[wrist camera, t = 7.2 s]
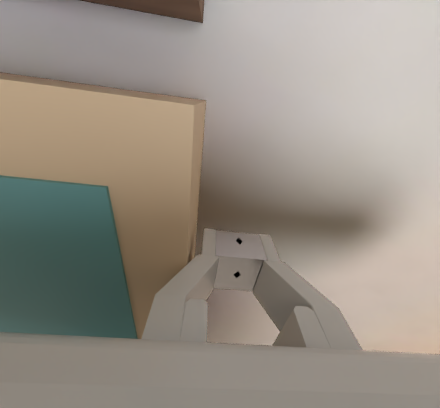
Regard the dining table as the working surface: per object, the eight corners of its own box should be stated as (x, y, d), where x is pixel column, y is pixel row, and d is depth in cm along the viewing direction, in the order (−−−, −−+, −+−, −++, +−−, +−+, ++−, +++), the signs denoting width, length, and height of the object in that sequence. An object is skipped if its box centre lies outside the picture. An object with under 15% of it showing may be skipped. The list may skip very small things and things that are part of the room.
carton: (193, 282, 14) (181, 368, 10) (51, 272, 13) (-31, 360, 9) (206, 100, 8) (193, 105, 4) (-48, 65, 7) (-448, 19, 3)
